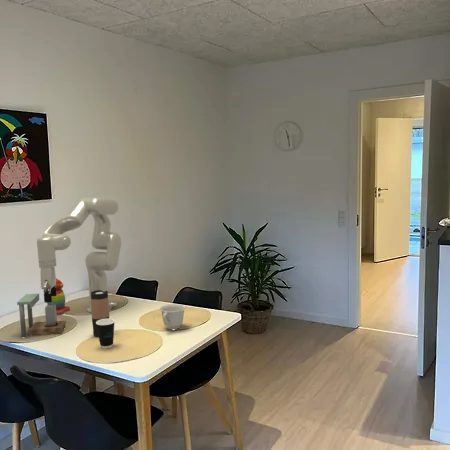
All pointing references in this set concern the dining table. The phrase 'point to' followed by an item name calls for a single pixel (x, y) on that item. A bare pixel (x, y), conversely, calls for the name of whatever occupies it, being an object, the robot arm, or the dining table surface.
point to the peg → (51, 315)
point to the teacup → (172, 315)
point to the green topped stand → (30, 301)
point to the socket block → (47, 328)
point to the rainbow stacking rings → (59, 299)
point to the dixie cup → (106, 332)
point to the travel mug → (99, 308)
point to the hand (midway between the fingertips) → (50, 299)
